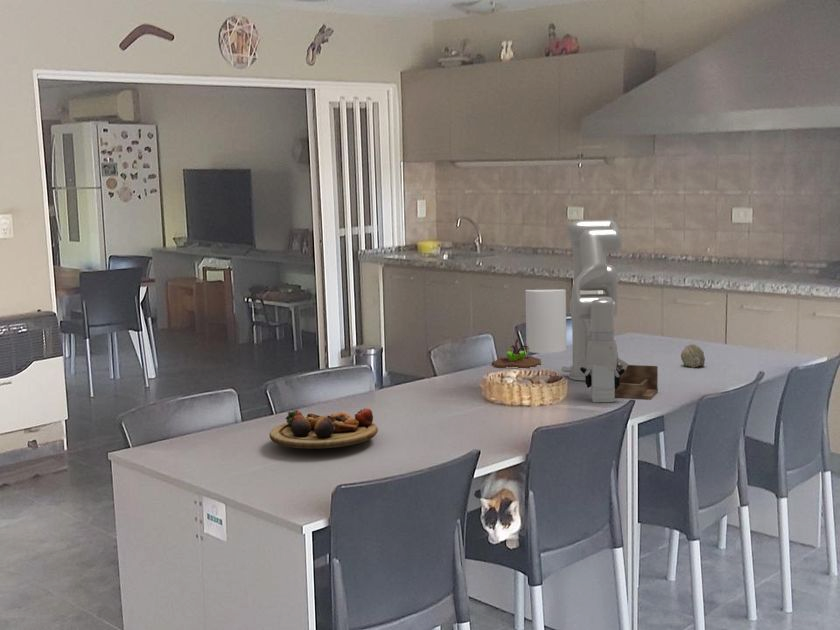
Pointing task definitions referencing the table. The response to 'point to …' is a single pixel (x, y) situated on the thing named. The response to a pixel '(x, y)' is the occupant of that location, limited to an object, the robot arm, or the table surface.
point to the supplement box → (602, 384)
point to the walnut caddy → (638, 382)
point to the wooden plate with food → (324, 430)
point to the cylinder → (546, 321)
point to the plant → (516, 359)
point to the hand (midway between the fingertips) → (602, 387)
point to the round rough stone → (693, 356)
